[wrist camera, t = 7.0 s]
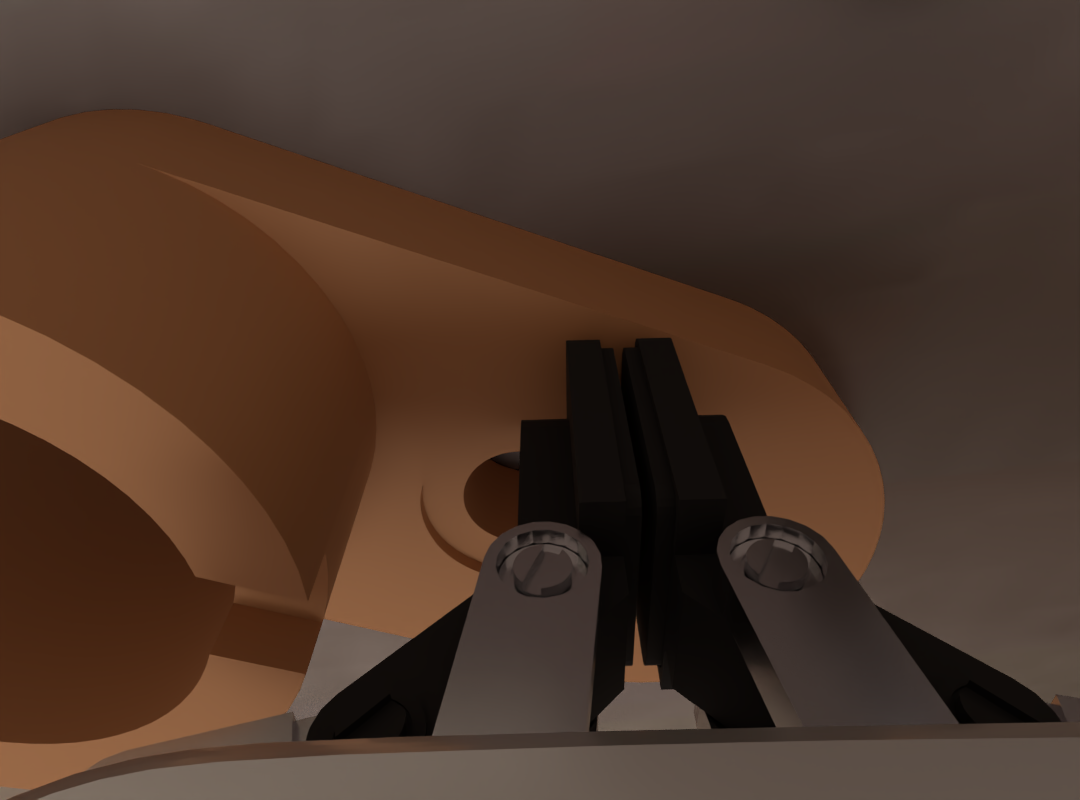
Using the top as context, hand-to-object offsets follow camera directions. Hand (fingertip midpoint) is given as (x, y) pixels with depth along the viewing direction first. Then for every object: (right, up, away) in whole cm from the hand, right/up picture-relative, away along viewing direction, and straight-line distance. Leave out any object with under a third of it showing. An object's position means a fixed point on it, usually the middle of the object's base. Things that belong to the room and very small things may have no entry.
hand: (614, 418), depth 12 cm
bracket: (-3, 0, +3) cm, 5 cm away
